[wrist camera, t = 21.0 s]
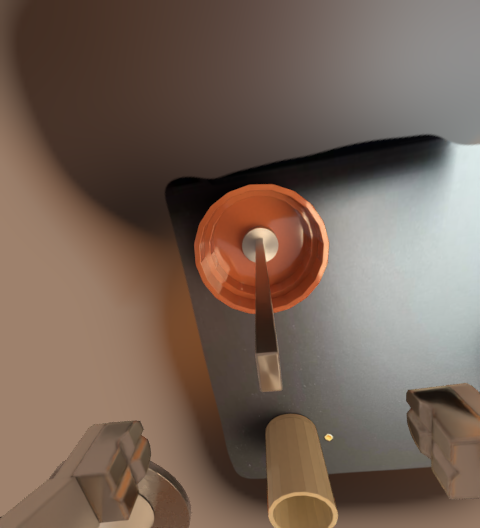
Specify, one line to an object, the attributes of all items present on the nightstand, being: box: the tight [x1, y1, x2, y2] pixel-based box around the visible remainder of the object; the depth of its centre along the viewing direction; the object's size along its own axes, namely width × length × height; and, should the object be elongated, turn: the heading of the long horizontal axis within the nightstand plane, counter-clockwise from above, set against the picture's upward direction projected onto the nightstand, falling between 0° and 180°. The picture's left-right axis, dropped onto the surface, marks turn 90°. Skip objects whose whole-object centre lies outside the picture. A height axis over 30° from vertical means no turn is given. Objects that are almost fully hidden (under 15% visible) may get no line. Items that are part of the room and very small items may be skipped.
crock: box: [265, 414, 338, 528], centre depth 37 cm, size 8×8×11 cm
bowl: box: [194, 184, 329, 314], centre depth 30 cm, size 14×14×6 cm
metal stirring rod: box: [242, 226, 283, 392], centre depth 21 cm, size 4×4×24 cm
